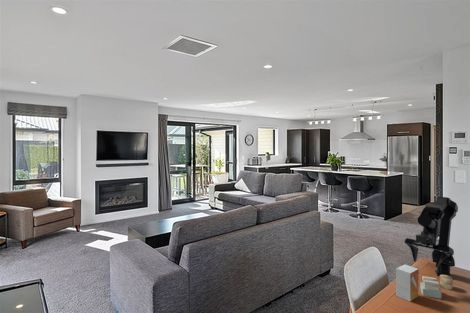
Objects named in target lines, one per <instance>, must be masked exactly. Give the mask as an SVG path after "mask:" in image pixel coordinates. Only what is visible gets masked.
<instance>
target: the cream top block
mask: <svg viewBox="0 0 470 313" xmlns="http://www.w3.org/2000/svg"><path fill="white" fill-rule="evenodd" d="M421 277H422V278H421V279H422V283H423V286H424V288H425V289H430V290H436V291H439V288H440V281H438V279H437V278H436V277H431V276H424V275H422V276H421Z"/></svg>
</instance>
